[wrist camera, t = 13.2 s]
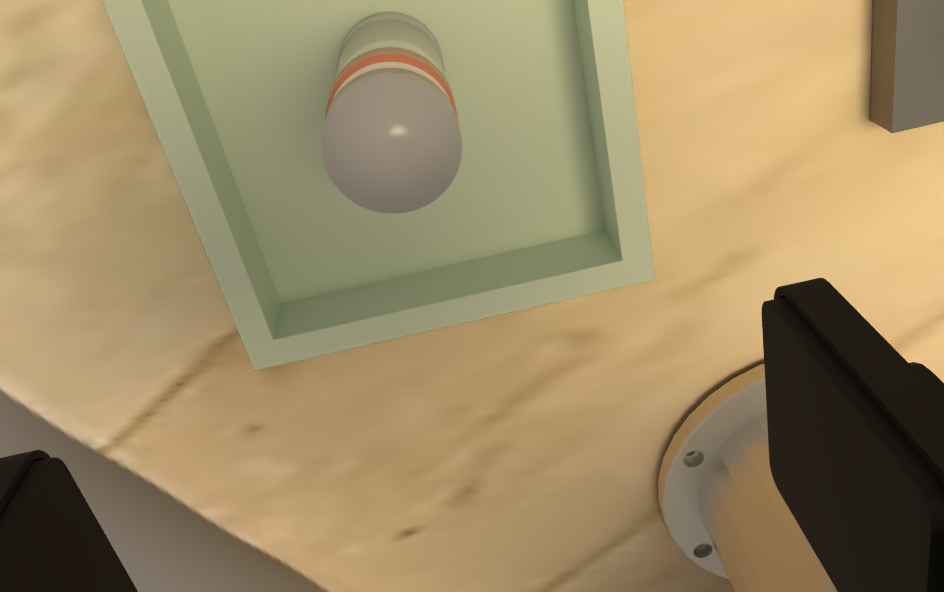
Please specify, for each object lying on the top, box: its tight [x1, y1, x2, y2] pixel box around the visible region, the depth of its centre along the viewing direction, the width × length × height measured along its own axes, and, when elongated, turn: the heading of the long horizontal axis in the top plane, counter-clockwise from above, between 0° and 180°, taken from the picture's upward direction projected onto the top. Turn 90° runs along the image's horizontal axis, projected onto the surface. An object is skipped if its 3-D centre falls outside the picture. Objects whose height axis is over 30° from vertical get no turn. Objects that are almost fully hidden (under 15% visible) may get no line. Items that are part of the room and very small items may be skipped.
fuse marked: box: [321, 11, 462, 214], centre depth 23 cm, size 3×3×8 cm
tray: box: [102, 0, 655, 371], centre depth 26 cm, size 16×14×3 cm
